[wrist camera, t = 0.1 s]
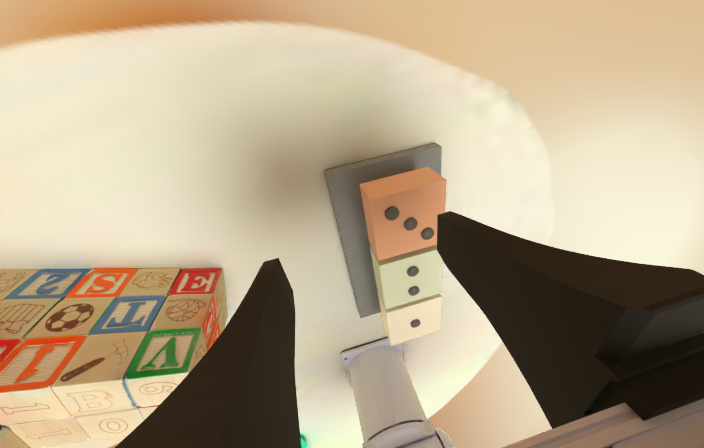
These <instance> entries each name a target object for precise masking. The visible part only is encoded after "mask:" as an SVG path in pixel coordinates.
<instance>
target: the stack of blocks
mask: <svg viewBox="0 0 704 448" xmlns="http://www.w3.org/2000/svg"><path fill="white" fill-rule="evenodd" d="M226 319H227V309H226V299H225V286H224V278H223V272H222V269H219V268H218V269H183V270H181V269H180V268H143V269H136V268H94V269H43V270H0V448H40V447H47V446H54V445H60V444H66V443H72V442H79V441H84V440H89V439H92V440H96V439H103V438H109V437H116V436H122V435H129V434H130V433H131V432H132V431H133V430H134V429H135V428H136V427H137V426H139V425H140V424H141V423H142V422H143V421H144V420H145V419H146V418H147V417H148V416H149V415H150V414H151V413H152V412H153V411H154V410H155V409H156V408H157V407H158V406H159V405H160V404H161V403H162V402H163V401H164V400H165V399H166V398H167V397H168V396H169V395H170V393H171V392H172V391H173V390H174V389H175V388H176V387H177V386H178V385H179V384H180V383H181V382H182V381H183V379H184V378H185V377H186V376H187V375H188V374H189V373H190V371H191V370H192V369H193V368H194V367H195V366H196V364H197V363H198V362H199V361H200V360H201V359H202V357H203V356H204V355H205V354H206V353H207V351H208V350H209V349H210V348H211V346H212V345H213V344H214V342H215V341H216V340H217V338H218V337H219V336H220V334H221V333H222V332H223V330H224V328H225V324H226Z"/></svg>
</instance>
